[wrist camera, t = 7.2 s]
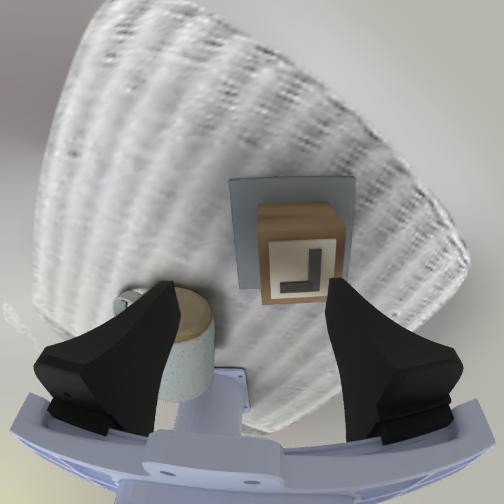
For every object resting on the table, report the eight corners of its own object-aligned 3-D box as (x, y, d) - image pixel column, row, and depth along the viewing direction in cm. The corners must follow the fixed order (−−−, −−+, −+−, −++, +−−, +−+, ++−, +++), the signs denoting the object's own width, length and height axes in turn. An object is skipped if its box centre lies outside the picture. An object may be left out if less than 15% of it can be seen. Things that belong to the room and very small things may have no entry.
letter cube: (325, 262, 22) (340, 303, 17) (262, 265, 22) (261, 308, 17) (327, 201, 19) (348, 230, 15) (258, 204, 20) (256, 234, 15)
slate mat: (344, 280, 23) (346, 284, 22) (240, 285, 24) (239, 289, 23) (352, 176, 19) (355, 178, 18) (229, 179, 20) (228, 181, 19)
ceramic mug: (222, 286, 24) (204, 352, 17) (219, 349, 28) (207, 411, 21) (112, 270, 24) (71, 321, 17) (126, 332, 28) (98, 384, 21)
